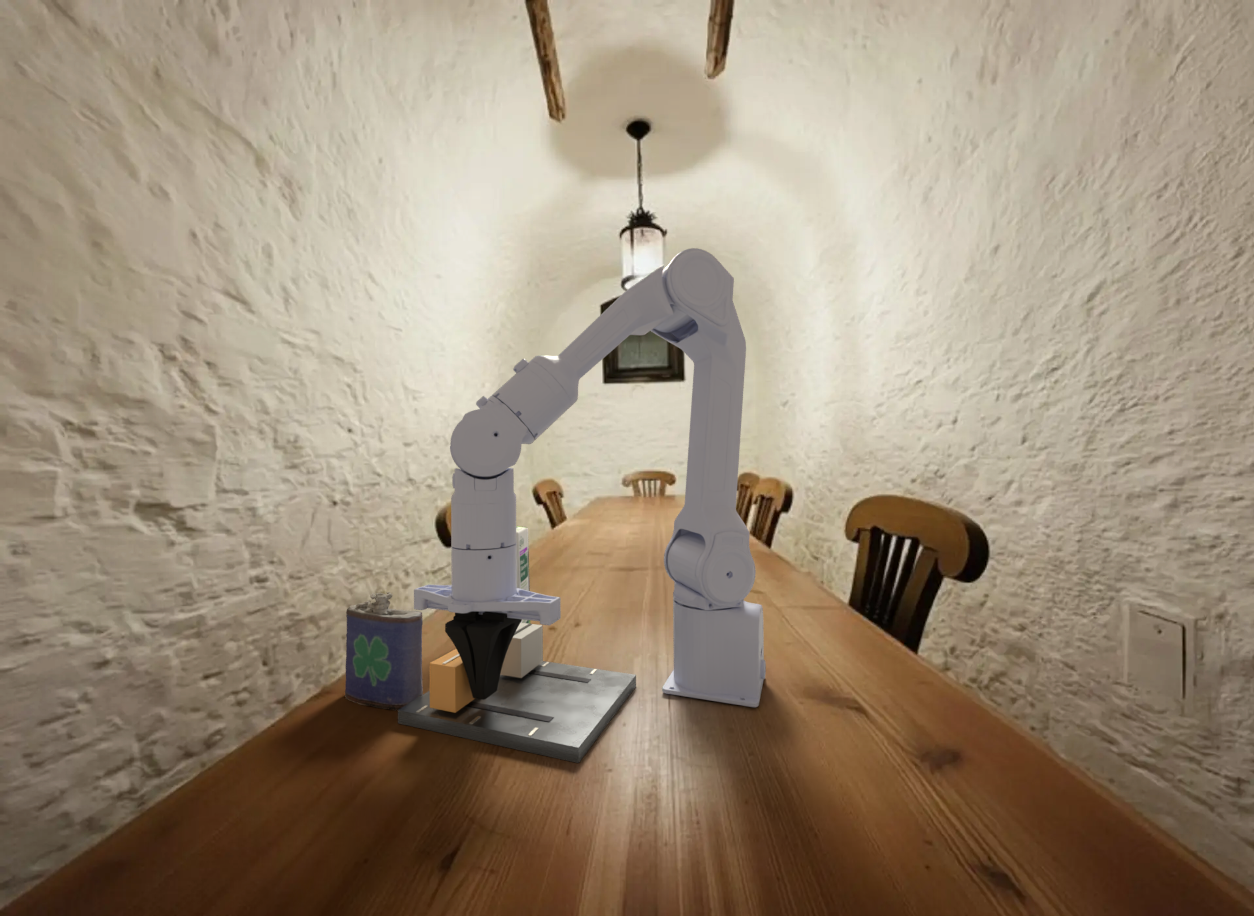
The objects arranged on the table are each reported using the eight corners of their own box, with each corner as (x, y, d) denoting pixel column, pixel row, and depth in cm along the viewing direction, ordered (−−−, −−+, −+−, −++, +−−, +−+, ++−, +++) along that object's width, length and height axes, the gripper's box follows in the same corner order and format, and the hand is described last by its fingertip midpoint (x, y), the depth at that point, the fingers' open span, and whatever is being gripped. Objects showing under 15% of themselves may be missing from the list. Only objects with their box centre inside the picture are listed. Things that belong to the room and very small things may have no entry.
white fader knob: (542, 661, 55) (542, 624, 55) (521, 678, 51) (521, 637, 51) (520, 658, 56) (520, 621, 56) (497, 674, 52) (497, 634, 52)
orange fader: (485, 690, 48) (485, 648, 48) (455, 712, 44) (455, 666, 44) (461, 686, 49) (461, 644, 49) (429, 707, 45) (429, 662, 45)
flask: (428, 701, 49) (427, 593, 49) (405, 716, 46) (404, 601, 46) (360, 686, 52) (359, 585, 52) (335, 699, 50) (334, 592, 50)
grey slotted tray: (636, 686, 52) (635, 674, 52) (578, 763, 39) (578, 747, 39) (490, 663, 58) (490, 652, 58) (397, 723, 45) (397, 709, 45)
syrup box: (521, 642, 65) (520, 531, 65) (476, 642, 65) (476, 531, 65) (530, 627, 71) (530, 525, 71) (489, 627, 71) (489, 525, 71)
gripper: (388, 547, 44) (388, 701, 44) (531, 557, 39) (531, 730, 39) (442, 536, 51) (443, 669, 51) (570, 543, 46) (571, 691, 46)
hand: (485, 694), depth 45 cm, fingers closed
